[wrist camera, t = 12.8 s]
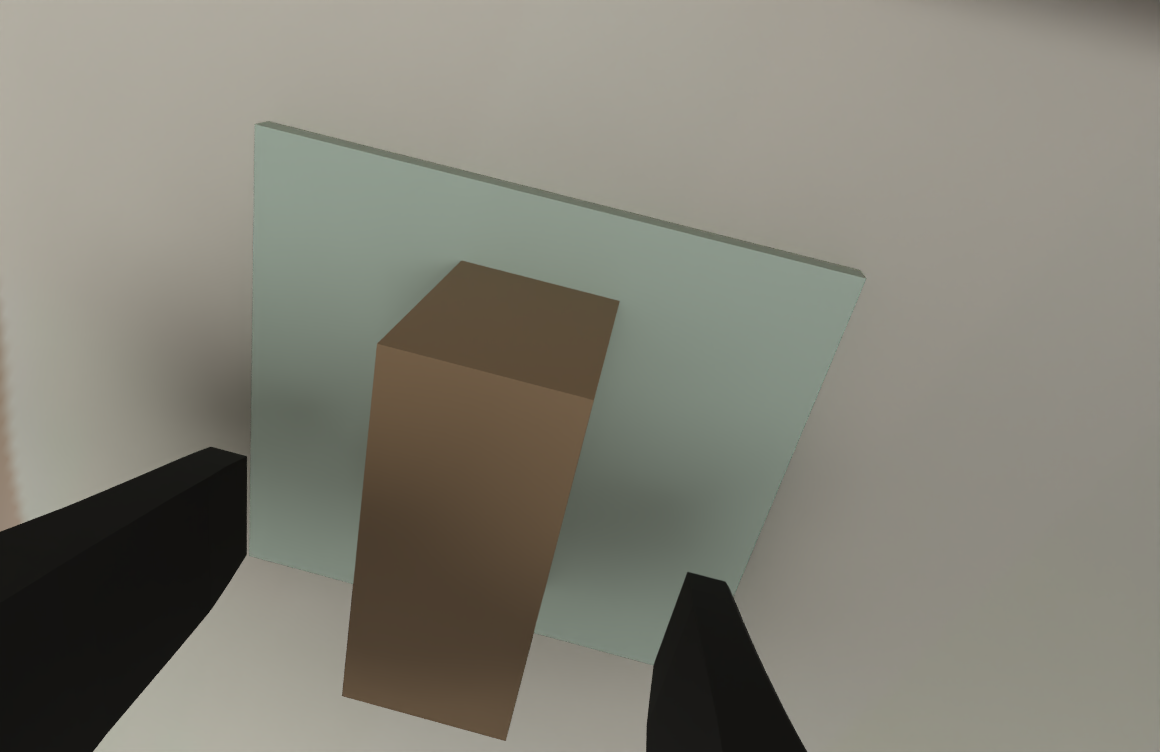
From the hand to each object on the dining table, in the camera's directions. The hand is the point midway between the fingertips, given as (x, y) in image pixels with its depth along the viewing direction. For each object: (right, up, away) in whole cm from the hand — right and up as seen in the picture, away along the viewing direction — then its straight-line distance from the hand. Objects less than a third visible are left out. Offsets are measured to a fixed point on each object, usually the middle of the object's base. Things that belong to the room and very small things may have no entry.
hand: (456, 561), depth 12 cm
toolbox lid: (+1, +2, +4) cm, 5 cm away
